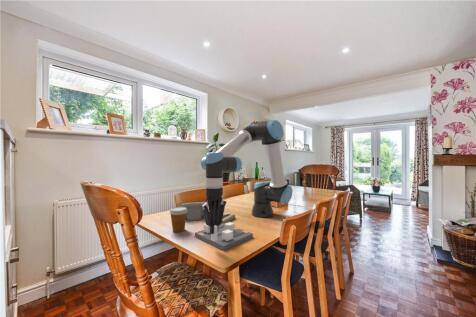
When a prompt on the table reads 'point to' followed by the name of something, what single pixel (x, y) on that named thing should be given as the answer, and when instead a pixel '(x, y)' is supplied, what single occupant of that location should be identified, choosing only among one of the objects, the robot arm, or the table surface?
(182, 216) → the disposable coffee cup
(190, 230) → the table surface
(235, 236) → the switch bank
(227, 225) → the tab
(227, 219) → the olive shallow tray
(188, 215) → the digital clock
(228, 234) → the tab
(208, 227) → the tab
